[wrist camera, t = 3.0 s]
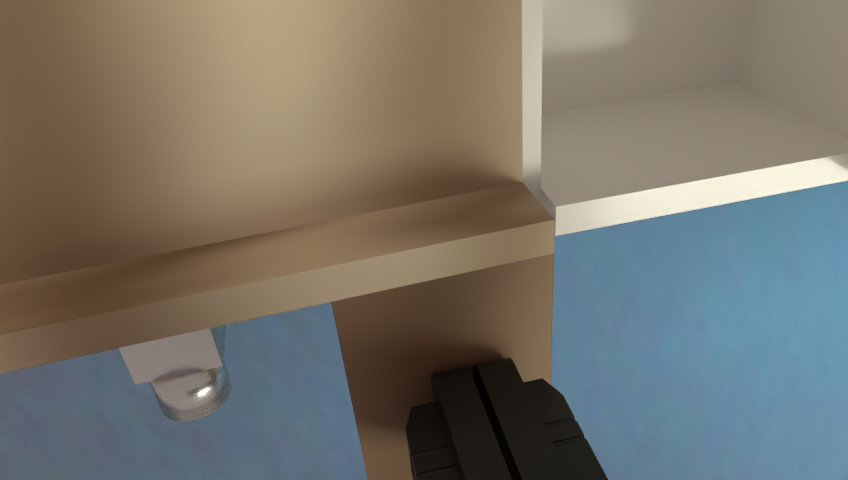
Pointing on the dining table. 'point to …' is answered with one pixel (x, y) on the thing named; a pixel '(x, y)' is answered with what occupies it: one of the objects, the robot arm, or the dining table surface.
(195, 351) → the stand
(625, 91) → the white open bin
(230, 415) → the dining table surface
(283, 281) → the chute
